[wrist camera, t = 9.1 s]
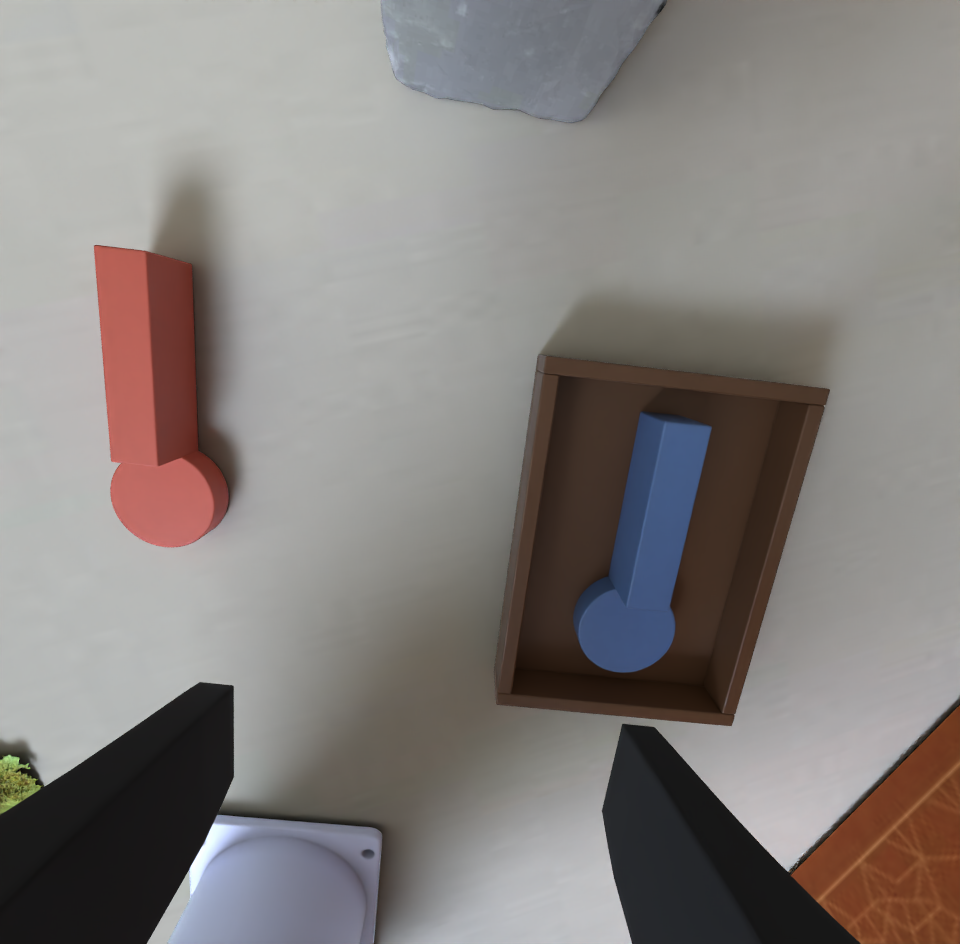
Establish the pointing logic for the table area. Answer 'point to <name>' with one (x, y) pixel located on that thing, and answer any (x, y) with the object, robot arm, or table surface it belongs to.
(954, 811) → the book
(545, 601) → the tray
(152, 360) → the terracotta spoon
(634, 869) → the robot arm
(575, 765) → the table surface
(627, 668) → the blue spoon
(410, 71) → the mineral specimen
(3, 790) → the moss
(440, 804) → the table surface
